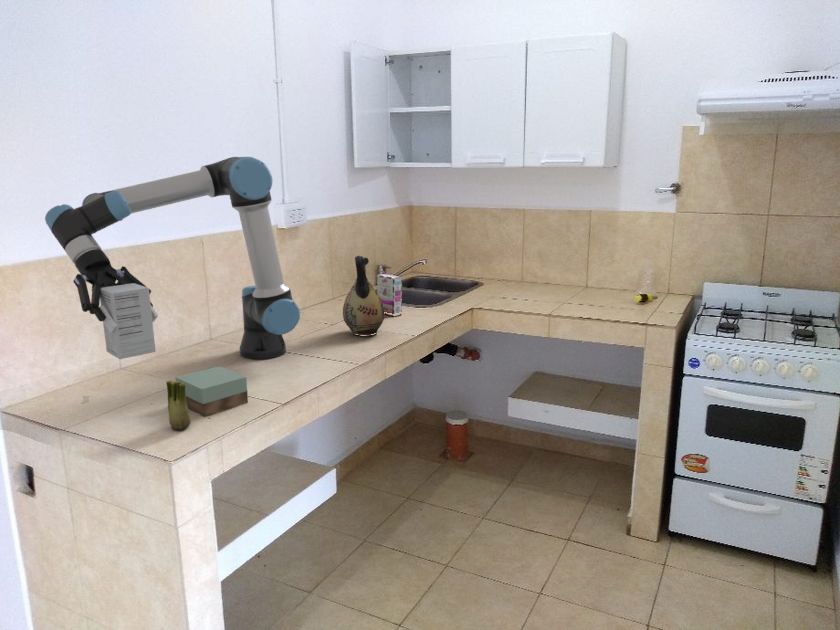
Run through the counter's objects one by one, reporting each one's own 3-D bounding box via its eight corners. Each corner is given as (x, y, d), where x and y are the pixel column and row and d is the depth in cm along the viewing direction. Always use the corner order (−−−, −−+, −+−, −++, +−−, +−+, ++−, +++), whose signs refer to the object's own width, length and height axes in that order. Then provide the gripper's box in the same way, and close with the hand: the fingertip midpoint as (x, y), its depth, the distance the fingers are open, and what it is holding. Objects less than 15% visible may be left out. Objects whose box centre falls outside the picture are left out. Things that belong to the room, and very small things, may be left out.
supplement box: (156, 352, 165) (150, 287, 161) (119, 360, 159) (111, 293, 154) (141, 344, 172) (135, 282, 167) (105, 351, 165) (97, 287, 161)
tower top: (220, 379, 181) (219, 366, 180) (246, 391, 173) (246, 376, 172) (176, 391, 172) (175, 377, 171) (203, 404, 164) (202, 389, 163)
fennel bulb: (167, 426, 159) (163, 379, 156) (187, 421, 162) (183, 376, 159) (173, 434, 154) (169, 386, 151) (194, 429, 157) (190, 382, 154)
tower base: (219, 393, 182) (219, 379, 181) (248, 404, 174) (247, 390, 173) (177, 406, 173) (176, 392, 172) (205, 418, 165) (204, 404, 164)
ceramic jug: (346, 328, 250) (345, 251, 243) (386, 329, 250) (386, 251, 242) (339, 340, 234) (337, 258, 226) (382, 341, 233) (381, 258, 226)
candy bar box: (402, 315, 271) (402, 276, 267) (393, 317, 268) (393, 278, 264) (385, 310, 279) (385, 273, 275) (376, 312, 276) (376, 274, 272)
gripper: (123, 260, 177) (167, 322, 174) (38, 274, 157) (86, 344, 154) (134, 242, 173) (179, 305, 170) (48, 254, 154) (97, 326, 150)
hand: (135, 324), depth 162 cm, fingers closed on supplement box, 11 cm apart
